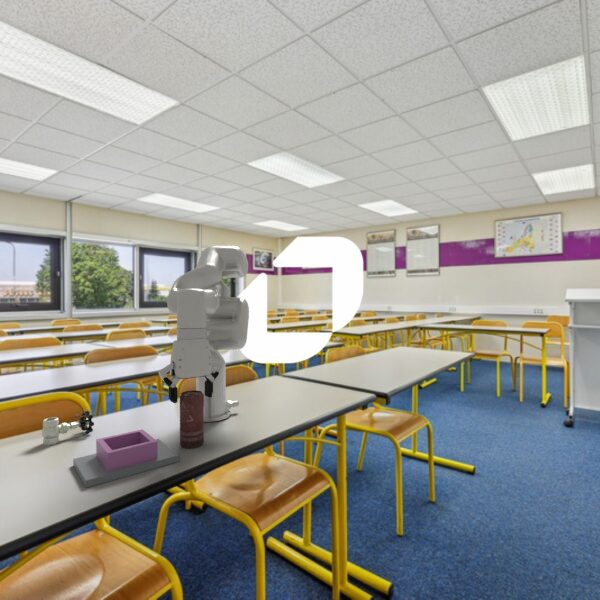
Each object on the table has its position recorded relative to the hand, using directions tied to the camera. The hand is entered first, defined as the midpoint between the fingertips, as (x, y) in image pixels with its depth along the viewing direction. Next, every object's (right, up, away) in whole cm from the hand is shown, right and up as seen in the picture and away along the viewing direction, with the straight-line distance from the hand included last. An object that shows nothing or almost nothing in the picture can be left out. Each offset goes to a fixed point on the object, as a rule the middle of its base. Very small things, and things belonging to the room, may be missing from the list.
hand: (191, 399), depth 103 cm
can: (0, -13, +1) cm, 13 cm away
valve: (-37, -13, +6) cm, 39 cm away
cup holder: (-12, -13, -11) cm, 21 cm away
